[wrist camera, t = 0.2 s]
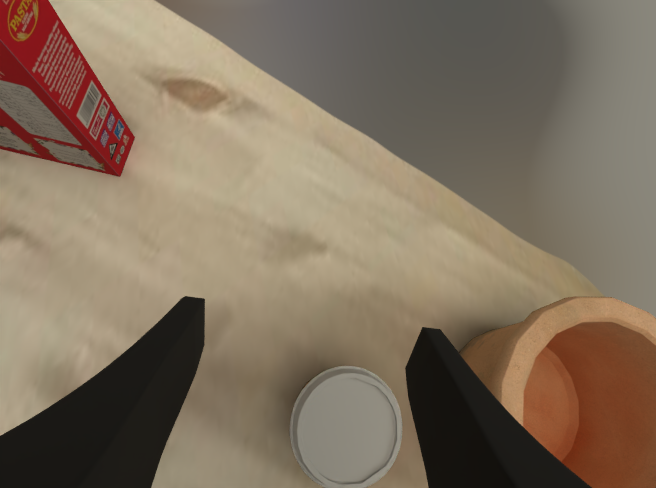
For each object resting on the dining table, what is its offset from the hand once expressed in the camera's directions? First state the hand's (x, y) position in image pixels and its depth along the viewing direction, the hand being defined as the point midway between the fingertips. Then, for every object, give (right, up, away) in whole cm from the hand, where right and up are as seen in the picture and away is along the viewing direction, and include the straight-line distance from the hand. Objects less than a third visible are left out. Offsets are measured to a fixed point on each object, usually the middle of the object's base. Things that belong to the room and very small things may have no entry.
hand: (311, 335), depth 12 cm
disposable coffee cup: (0, -15, +29) cm, 32 cm away
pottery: (+22, -16, +32) cm, 42 cm away
